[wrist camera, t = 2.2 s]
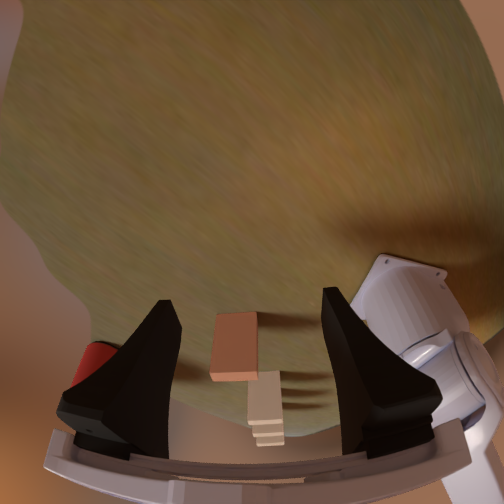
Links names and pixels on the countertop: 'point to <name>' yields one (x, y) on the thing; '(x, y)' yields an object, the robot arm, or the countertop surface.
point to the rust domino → (235, 347)
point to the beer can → (93, 360)
